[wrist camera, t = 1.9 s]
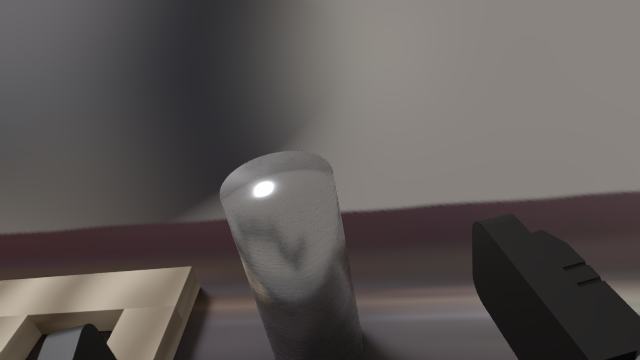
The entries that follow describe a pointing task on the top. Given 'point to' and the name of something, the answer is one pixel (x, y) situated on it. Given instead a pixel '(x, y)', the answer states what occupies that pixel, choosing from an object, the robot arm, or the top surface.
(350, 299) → the grey cylinder
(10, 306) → the mounting board
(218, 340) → the top surface
